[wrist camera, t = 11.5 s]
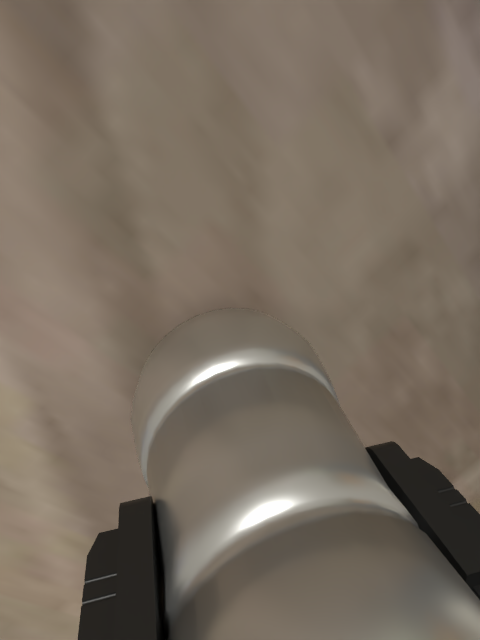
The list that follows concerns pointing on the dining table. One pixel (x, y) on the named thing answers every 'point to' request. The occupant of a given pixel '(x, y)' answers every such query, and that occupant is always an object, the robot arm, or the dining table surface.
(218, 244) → the dining table surface
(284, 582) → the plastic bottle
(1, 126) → the dining table surface
